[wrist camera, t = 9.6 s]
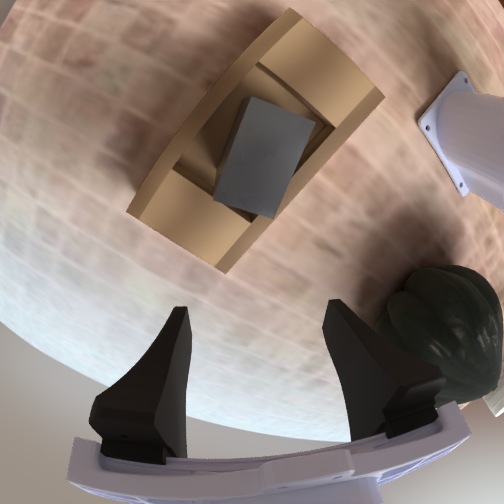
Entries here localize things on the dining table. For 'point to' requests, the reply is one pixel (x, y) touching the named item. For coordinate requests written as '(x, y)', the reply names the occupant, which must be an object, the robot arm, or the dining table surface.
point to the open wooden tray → (219, 126)
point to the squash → (449, 329)
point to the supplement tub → (497, 392)
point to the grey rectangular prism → (260, 156)
